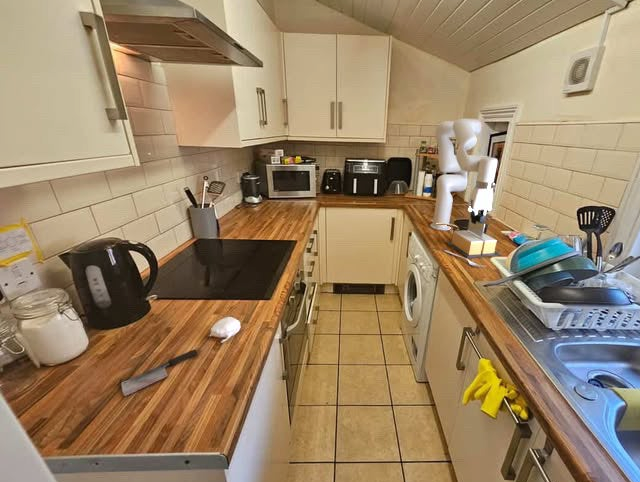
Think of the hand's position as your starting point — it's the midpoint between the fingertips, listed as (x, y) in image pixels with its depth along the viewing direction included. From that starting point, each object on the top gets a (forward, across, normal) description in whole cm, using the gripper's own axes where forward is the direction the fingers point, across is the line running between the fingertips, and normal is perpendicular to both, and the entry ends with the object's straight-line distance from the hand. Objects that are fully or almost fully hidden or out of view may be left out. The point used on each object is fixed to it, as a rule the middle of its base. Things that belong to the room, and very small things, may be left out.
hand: (476, 222), depth 147 cm
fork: (+14, +12, +11) cm, 22 cm away
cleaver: (+14, +122, +58) cm, 136 cm away
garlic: (+14, +110, +45) cm, 120 cm away
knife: (+6, 0, 0) cm, 6 cm away
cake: (+14, 0, 0) cm, 14 cm away
